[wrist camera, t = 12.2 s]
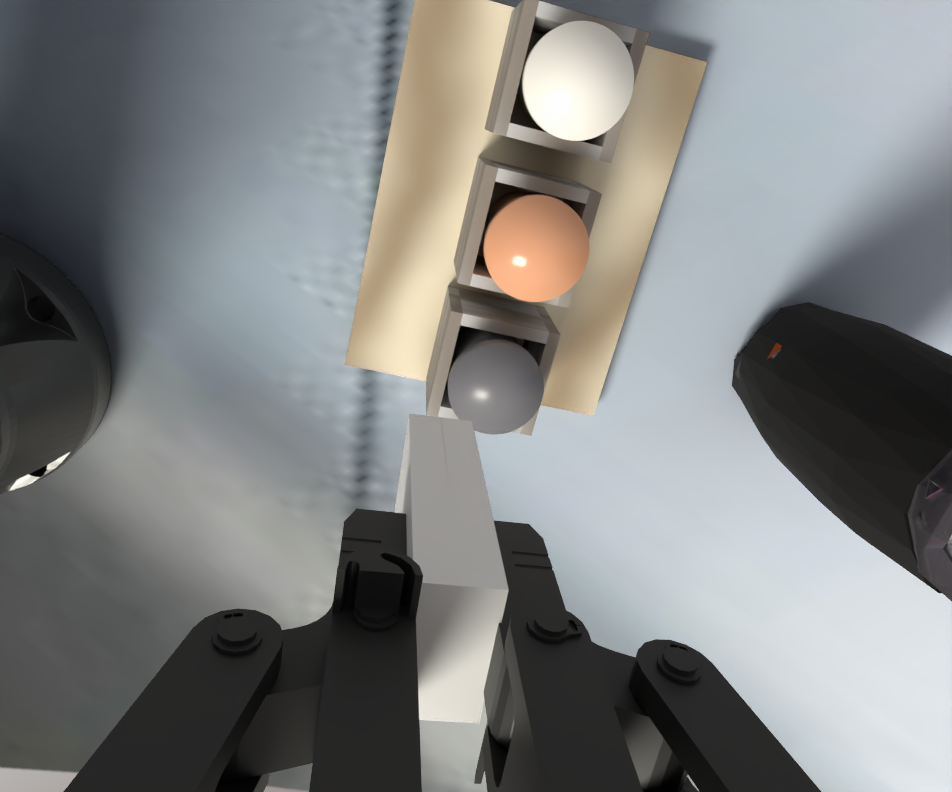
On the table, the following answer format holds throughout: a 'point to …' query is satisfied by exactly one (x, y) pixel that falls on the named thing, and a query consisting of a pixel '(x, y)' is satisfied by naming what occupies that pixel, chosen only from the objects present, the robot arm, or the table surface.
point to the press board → (501, 172)
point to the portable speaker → (860, 427)
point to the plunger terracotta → (534, 246)
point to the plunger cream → (577, 81)
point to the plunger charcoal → (493, 381)
